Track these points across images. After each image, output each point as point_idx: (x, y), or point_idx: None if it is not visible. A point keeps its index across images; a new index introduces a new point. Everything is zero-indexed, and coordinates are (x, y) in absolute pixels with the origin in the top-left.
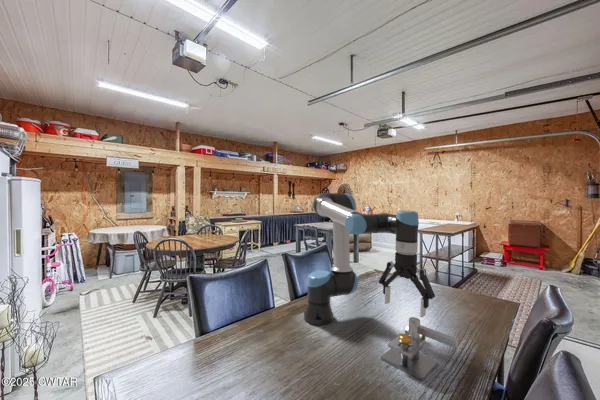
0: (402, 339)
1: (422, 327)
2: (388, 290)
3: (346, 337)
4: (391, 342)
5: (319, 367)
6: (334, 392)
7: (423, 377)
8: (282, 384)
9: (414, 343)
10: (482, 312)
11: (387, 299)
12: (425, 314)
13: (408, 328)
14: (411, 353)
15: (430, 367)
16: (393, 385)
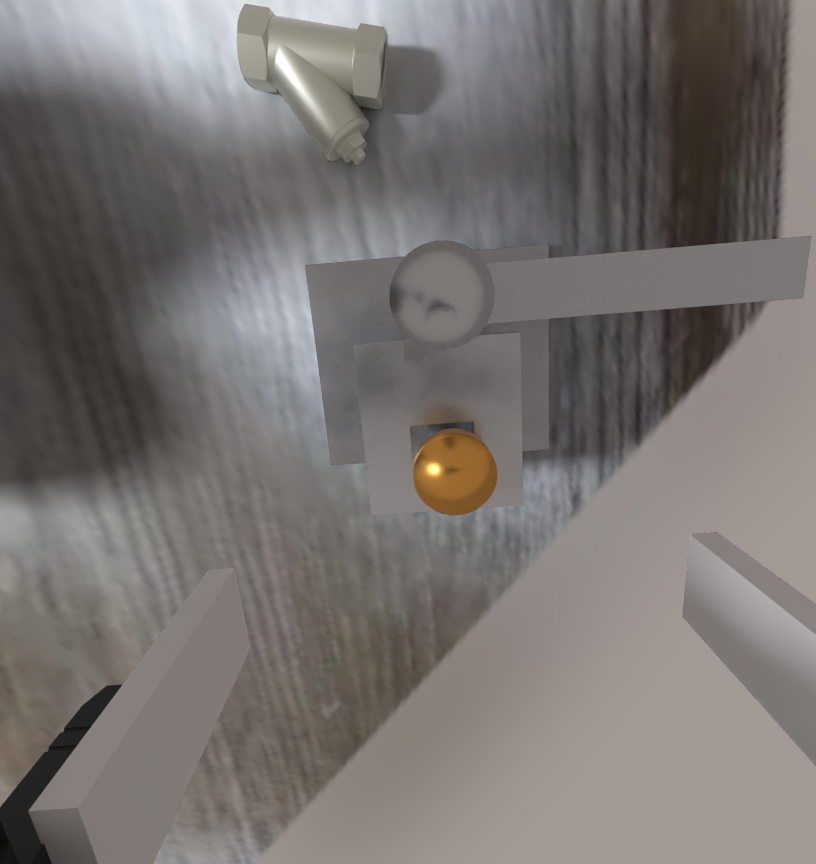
0: (457, 512)
1: (516, 297)
2: (150, 788)
3: (90, 448)
4: (375, 488)
5: None
6: (358, 738)
7: (548, 440)
8: (228, 830)
9: (475, 377)
10: None
11: (225, 674)
12: (723, 542)
13: (257, 51)
14: (514, 493)
15: (540, 337)
16: (472, 560)
